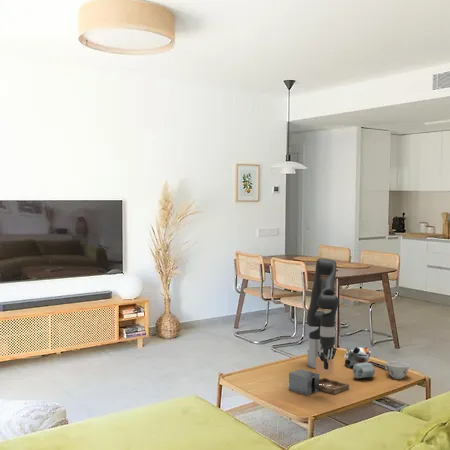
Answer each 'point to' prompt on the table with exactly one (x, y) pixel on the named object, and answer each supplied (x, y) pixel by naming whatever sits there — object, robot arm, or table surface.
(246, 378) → the table surface
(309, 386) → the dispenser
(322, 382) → the tray
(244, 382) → the table surface
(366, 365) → the grey rounded cylinder
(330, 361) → the orange tan rectangular slab
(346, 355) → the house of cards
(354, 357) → the lucky cat figurine
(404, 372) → the teacup
